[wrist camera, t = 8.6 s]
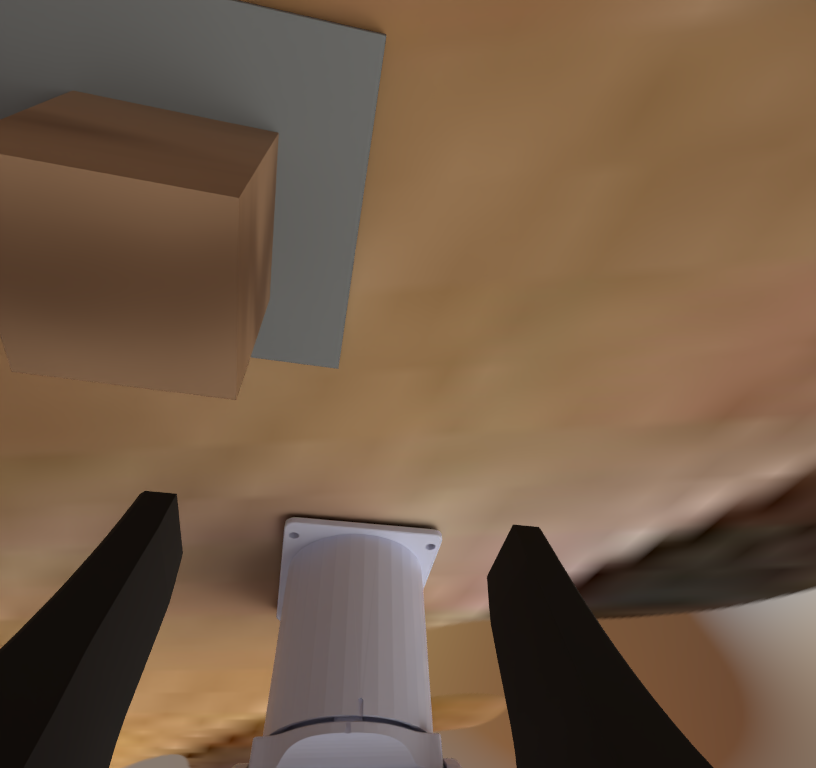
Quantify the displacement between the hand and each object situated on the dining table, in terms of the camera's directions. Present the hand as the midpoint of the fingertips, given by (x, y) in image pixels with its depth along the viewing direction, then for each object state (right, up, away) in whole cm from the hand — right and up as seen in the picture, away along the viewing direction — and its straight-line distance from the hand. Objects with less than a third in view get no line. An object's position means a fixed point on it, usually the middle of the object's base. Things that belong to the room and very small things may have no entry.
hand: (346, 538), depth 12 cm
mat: (-6, +9, +5) cm, 12 cm away
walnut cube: (-6, +9, +5) cm, 12 cm away
